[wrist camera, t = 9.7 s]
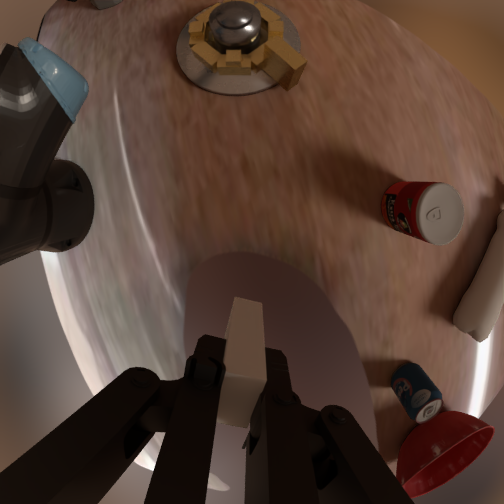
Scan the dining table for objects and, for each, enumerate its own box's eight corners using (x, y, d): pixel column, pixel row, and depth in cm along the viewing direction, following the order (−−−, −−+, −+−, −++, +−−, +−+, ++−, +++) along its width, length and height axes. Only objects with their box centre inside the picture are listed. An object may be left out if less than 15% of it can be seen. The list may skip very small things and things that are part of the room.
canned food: (371, 194, 37) (409, 199, 27) (410, 173, 36) (454, 172, 26) (390, 240, 39) (429, 258, 28) (427, 217, 38) (470, 228, 27)
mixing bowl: (476, 409, 50) (500, 439, 35) (404, 468, 55) (419, 502, 40) (453, 374, 46) (487, 413, 31) (360, 449, 50) (376, 496, 35)
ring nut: (258, 114, 33) (260, 96, 26) (177, 43, 31) (162, 18, 23) (323, 65, 31) (337, 41, 24) (240, 0, 29) (238, -30, 21)
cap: (162, 86, 34) (140, 64, 25) (199, -1, 30) (189, -32, 21) (284, 109, 35) (292, 88, 26) (309, 17, 31) (320, -14, 22)
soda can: (387, 368, 44) (413, 409, 33) (418, 354, 44) (448, 390, 32) (389, 392, 46) (411, 431, 34) (418, 378, 45) (444, 414, 34)
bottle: (476, 338, 40) (528, 209, 34) (488, 349, 32) (545, 199, 27) (445, 318, 44) (498, 188, 39) (453, 327, 36) (512, 175, 31)
